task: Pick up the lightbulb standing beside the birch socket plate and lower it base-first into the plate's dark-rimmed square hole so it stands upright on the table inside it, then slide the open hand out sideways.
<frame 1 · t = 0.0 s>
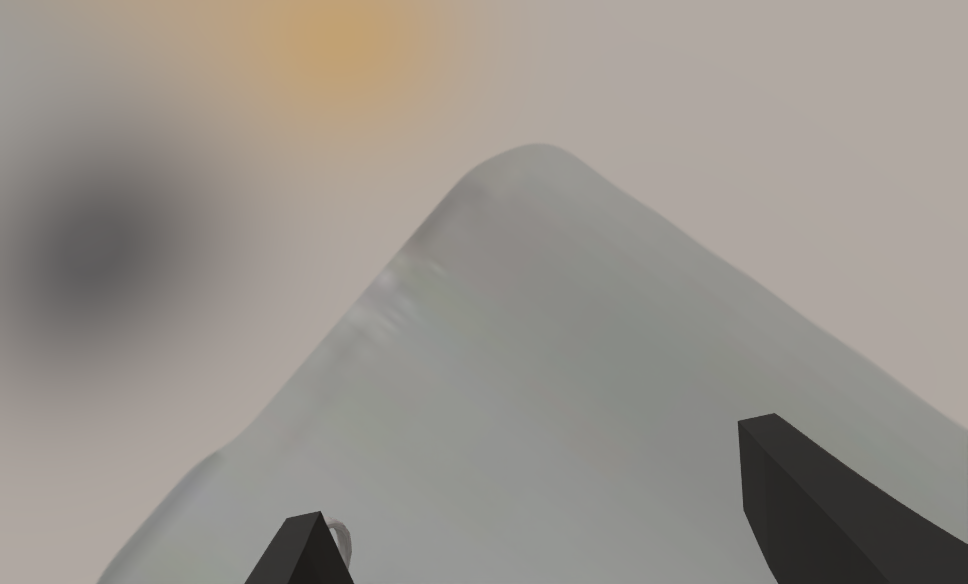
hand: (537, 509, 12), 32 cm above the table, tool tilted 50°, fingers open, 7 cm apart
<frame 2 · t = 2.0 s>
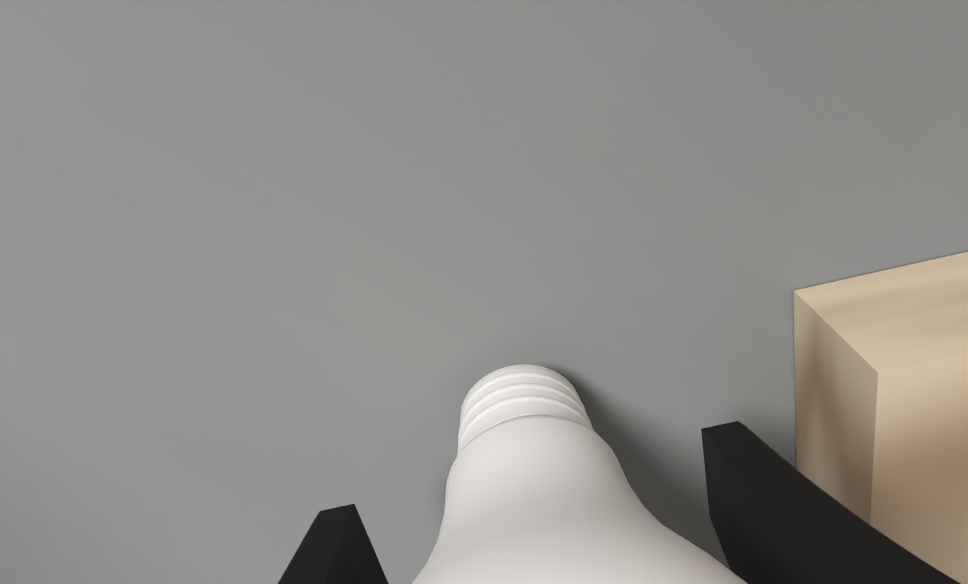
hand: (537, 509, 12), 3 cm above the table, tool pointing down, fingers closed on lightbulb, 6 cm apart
lightbulb: (515, 387, 15), on the table, touching gripper
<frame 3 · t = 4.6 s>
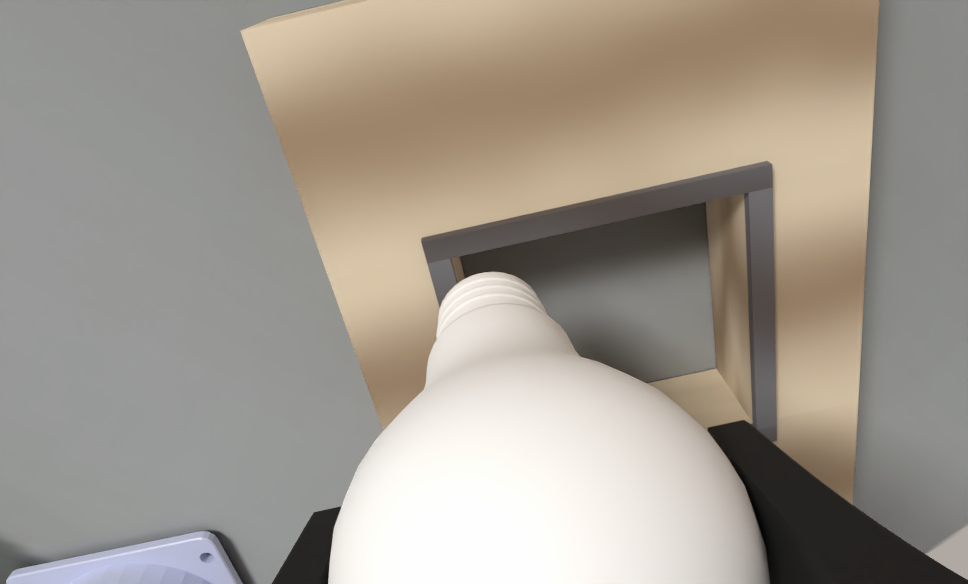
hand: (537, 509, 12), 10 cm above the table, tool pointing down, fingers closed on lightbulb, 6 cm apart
lightbulb: (486, 298, 17), point 4 cm above the table, touching gripper
socket plate: (592, 296, 22), on the table
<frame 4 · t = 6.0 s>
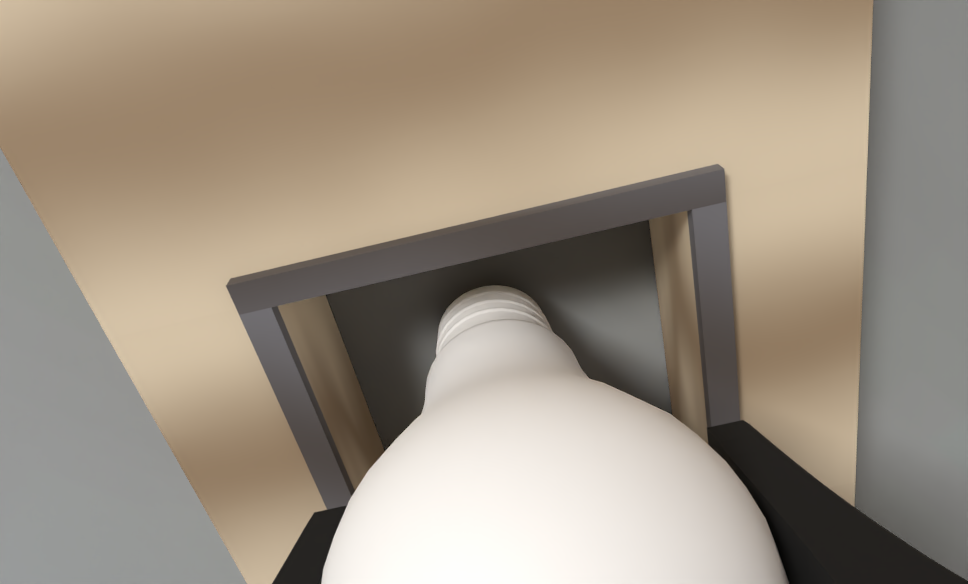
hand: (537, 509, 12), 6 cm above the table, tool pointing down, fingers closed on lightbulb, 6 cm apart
lightbulb: (487, 312, 16), resting in socket plate, touching gripper
socket plate: (506, 341, 17), on the table
when the fingers open (4 cm above the table, at t = 7.5 s): lightbulb stays where it is, resting in socket plate.
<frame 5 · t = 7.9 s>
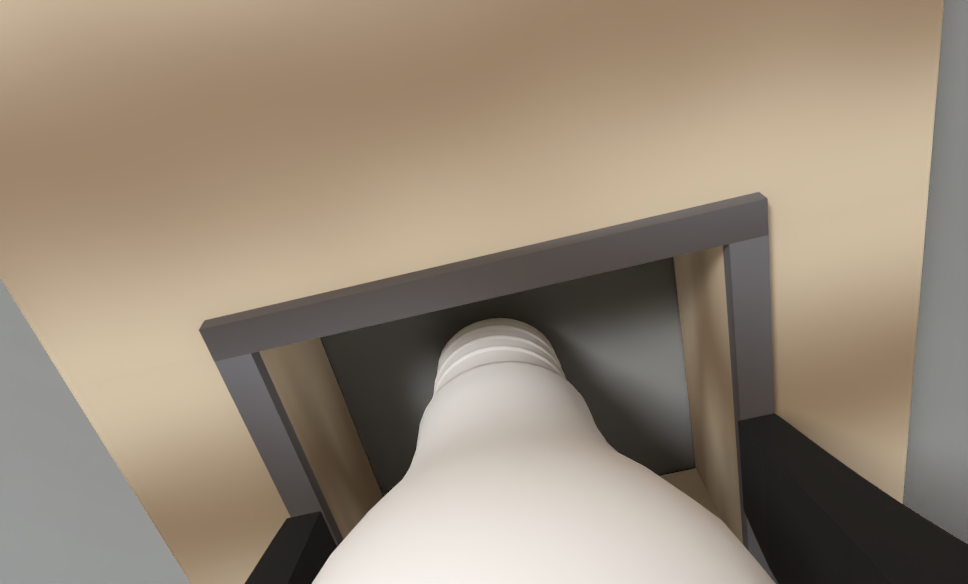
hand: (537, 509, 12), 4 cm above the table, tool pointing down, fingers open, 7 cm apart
lightbulb: (494, 345, 15), resting in socket plate
socket plate: (514, 377, 15), on the table
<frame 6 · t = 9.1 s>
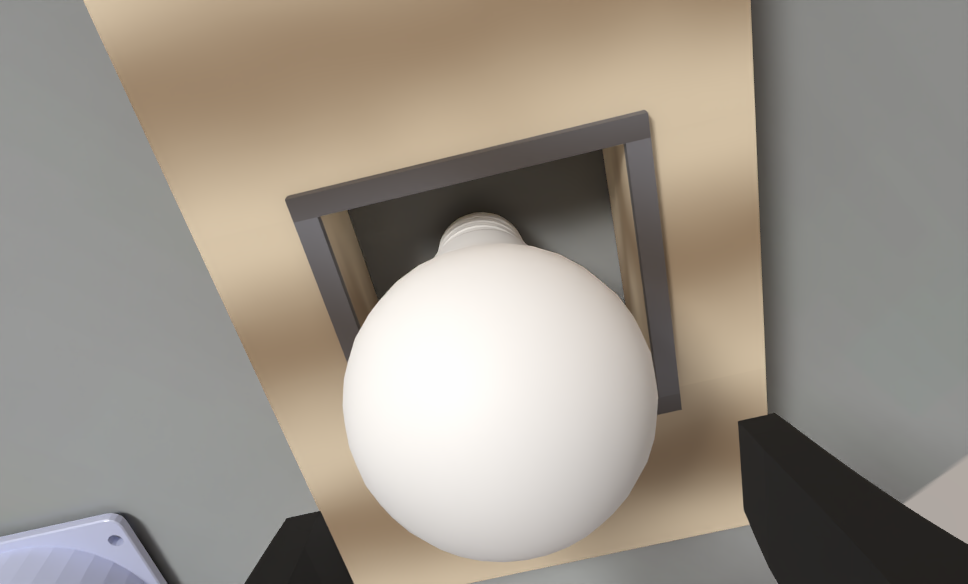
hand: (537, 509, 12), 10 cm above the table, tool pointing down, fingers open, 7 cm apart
lightbulb: (479, 239, 21), resting in socket plate
socket plate: (493, 263, 21), on the table
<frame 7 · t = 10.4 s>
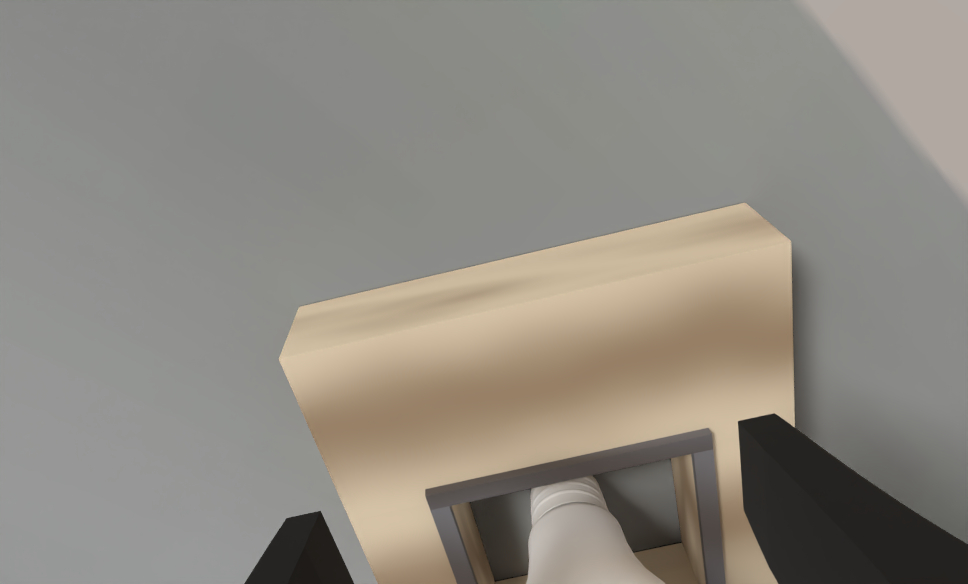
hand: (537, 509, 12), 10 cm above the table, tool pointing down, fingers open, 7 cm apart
lightbulb: (560, 474, 25), resting in socket plate
socket plate: (572, 493, 25), on the table
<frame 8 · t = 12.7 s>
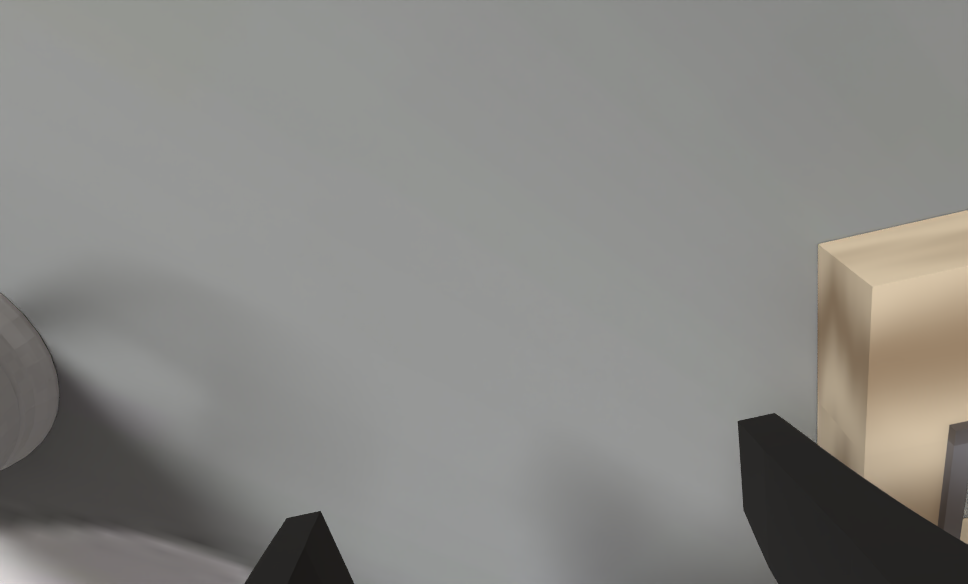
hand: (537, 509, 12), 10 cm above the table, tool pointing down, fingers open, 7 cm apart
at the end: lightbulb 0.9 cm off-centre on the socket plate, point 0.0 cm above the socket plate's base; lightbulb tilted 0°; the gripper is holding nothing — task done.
